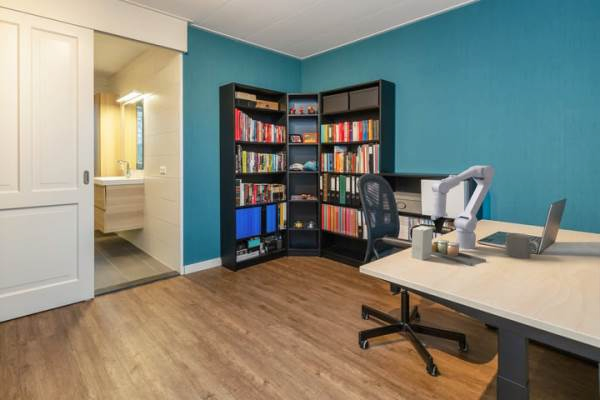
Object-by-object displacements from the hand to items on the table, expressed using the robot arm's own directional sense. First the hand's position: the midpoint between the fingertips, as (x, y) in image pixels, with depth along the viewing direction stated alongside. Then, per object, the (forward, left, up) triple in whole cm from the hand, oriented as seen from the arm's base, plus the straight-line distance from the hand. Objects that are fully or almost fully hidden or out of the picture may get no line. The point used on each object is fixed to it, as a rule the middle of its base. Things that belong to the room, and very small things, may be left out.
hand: (438, 232), depth 168 cm
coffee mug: (-25, +27, -10) cm, 38 cm away
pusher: (+5, +3, -9) cm, 11 cm away
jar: (+3, +11, -9) cm, 15 cm away
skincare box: (+19, +6, -10) cm, 22 cm away
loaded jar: (+4, +6, -9) cm, 11 cm away
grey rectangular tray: (+5, +12, -9) cm, 16 cm away
